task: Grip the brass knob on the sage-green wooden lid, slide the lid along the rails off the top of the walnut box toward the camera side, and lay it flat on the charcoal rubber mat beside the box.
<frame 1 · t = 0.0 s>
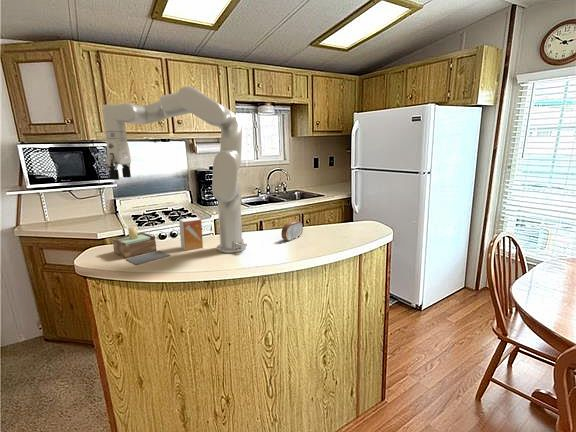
hand: (121, 178, 134), 31 cm above the table, tool pointing down, fingers open, 9 cm apart
box: (135, 252, 137), on the table
bread slice: (292, 239, 155), on the table
mat: (148, 257, 130), on the table
small box: (192, 248, 143), on the table
lid: (133, 240, 136), point 5 cm above the table, touching box
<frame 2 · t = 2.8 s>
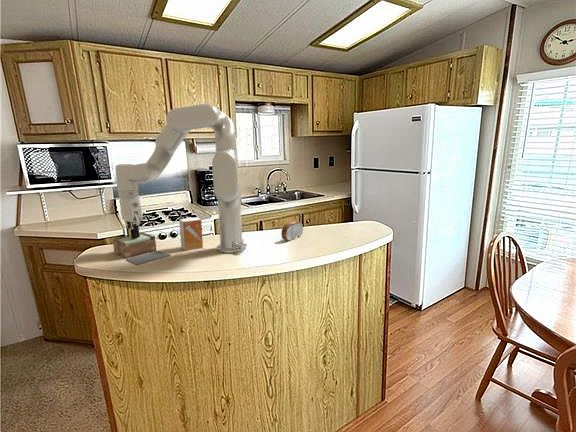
hand: (133, 236, 136), 7 cm above the table, tool pointing down, fingers closed on lid, 3 cm apart
lid: (133, 240, 136), point 5 cm above the table, touching box, gripper
everything else where it was.
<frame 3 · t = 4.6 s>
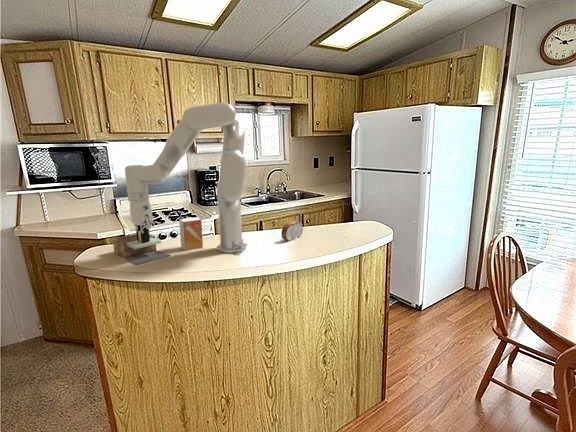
hand: (143, 240, 131), 7 cm above the table, tool pointing down, fingers closed on lid, 3 cm apart
lid: (143, 244, 131), point 5 cm above the table, touching gripper
everything else where it was.
when the fingers open (3 cm above the table, at t = 6.7 s): lid drops 2 cm, resting on mat.
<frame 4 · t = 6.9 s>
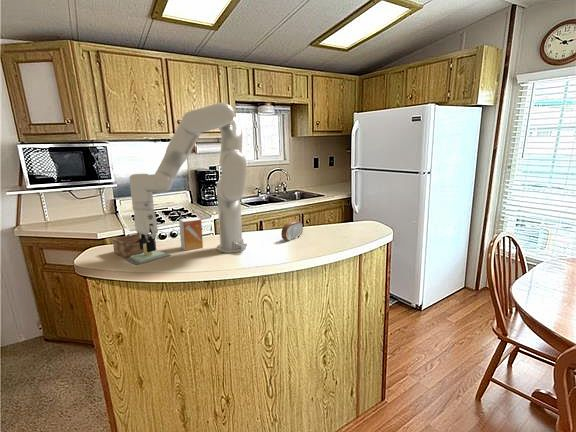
hand: (147, 249, 129), 4 cm above the table, tool pointing down, fingers open, 5 cm apart
lid: (148, 257, 130), resting on mat
everything else where it was.
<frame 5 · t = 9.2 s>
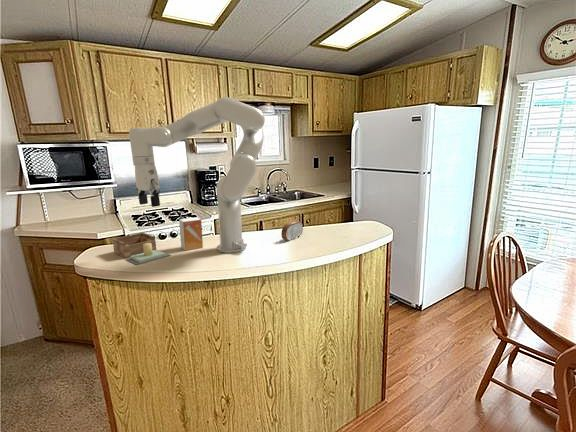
hand: (149, 205, 126), 21 cm above the table, tool pointing down, fingers open, 9 cm apart
nothing on the table moved.
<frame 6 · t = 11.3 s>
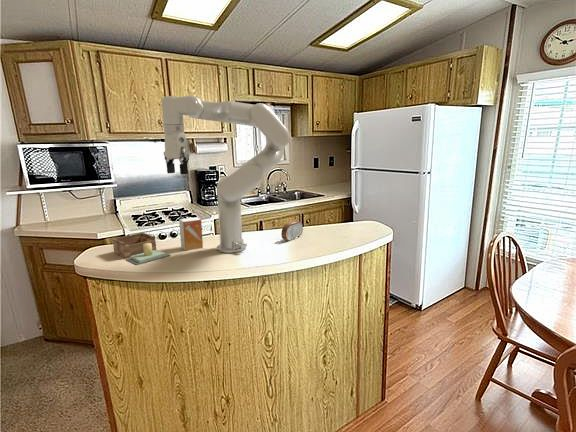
hand: (177, 173, 129), 33 cm above the table, tool pointing down, fingers open, 9 cm apart
nothing on the table moved.
at the end: lid inside the target area on the mat (0.0 cm from its centre), point 0.3 cm above the mat's base; lid tilted 0°; lid touching mat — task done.
